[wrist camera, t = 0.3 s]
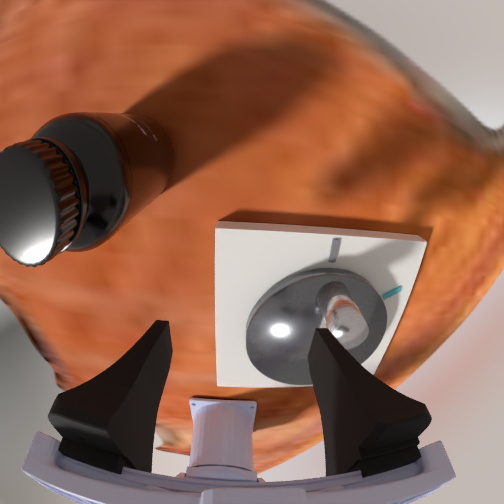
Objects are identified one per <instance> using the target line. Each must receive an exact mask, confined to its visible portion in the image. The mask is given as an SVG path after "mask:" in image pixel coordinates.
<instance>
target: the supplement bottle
mask: <svg viewBox="0 0 504 504" xmlns="http://www.w3.org/2000/svg"><path fill="white" fill-rule="evenodd" d="M172 169H173V150H172V146H171V143H170V140H169V138H168V136H167V134H166V133H165V131H164V130H163V129H162V128H161V127H160V126H159V125H158V124H157V123H156V122H154V121H153V120H151V119H149V118H147V117H144V116H140V115H134V114H121V113H88V112H80V113H68V114H64V115H60V116H57V117H55V118H53V119H51V120H50V121H48V122H47V123H45V124H44V125H43V126H42V127H41V128H40V129H39V130H38V131H37V132H36V133H35V134H34V135H33V137H32V138H31V139H29V140H27V141H24V142H20V143H16V144H14V145H11V146H8V147H6V148H5V149H4V150H3V151H1V152H0V247H1V248H2V249H3V250H4V251H5V253H6V254H7V255H9V256H10V257H11V258H12V259H13V260H14V261H17V262H18V263H19V264H21V265H22V264H24V265H25V266H27V267H29V266H33V267H36V266H38V265H43V264H45V263H46V262H47V261H50V260H51V259H53V258H54V257H55V256H56V255H57V254H59V253H62V252H63V251H69V252H83V251H88V250H91V249H94V248H96V247H98V246H100V245H102V244H103V243H104V242H106V241H107V240H108V239H110V238H111V237H112V236H113V235H114V234H115V233H116V232H118V231H119V230H120V229H121V228H122V227H123V226H124V225H125V224H126V223H128V222H129V221H130V220H131V219H132V218H133V217H134V216H136V215H137V214H138V213H139V212H140V211H141V210H143V209H144V208H145V207H146V206H147V205H148V204H150V203H151V202H152V201H153V200H154V199H155V198H156V197H158V196H159V194H160V193H161V192H162V191H163V190H164V188H165V187H166V185H167V183H168V182H169V179H170V177H171V174H172Z"/></svg>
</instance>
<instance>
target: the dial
mask: <svg viewBox="0 0 504 504" xmlns="http://www.w3.org/2000/svg"><path fill="white" fill-rule="evenodd" d="M386 326H387V310H386V307H385V304H384V302H383V300H382V298H381V297H380V295H379V294H378V292H377V291H376V289H375V288H374V287H373V286H372V284H371V283H370V282H369V281H367V280H366V279H365V278H364V277H362V276H360V275H359V274H356V273H354V272H351V271H348V270H344V269H337V268H319V269H312V270H308V271H304V272H300V273H298V274H295V275H292V276H290V277H288V278H286V279H284V280H282V281H280V282H279V283H277V284H276V285H274V286H273V287H271V288H270V289H269V290H268V291H267V292H265V293H264V294H263V296H262V297H261V298H260V299H259V300H258V301H257V302H256V304H255V305H254V307H253V308H252V310H251V312H250V314H249V317H248V320H247V324H246V350H247V354H248V357H249V359H250V361H251V363H252V364H253V366H254V367H255V368H256V369H257V370H258V371H259V372H261V373H262V374H263V375H265V376H266V377H268V378H270V379H272V380H275V381H278V382H281V383H285V384H291V385H312V384H313V383H312V380H311V376H310V371H309V364H308V353H309V350H310V347H311V343H312V340H313V336H314V333H315V329H316V328H328V329H329V330H330V332H331V333H332V334H333V335H334V336H335V337H336V339H337V340H338V341H339V342H340V343H341V344H342V345H343V347H344V348H345V349H346V350H347V351H348V352H349V353H350V354H351V355H352V356H353V357H354V358H355V359H356V360H357V361H358V362H359V363H360V364H362V363H364V362H365V361H366V360H367V359H368V358H369V357H370V356H371V355H372V354H373V352H374V351H375V350H376V349H377V347H378V346H379V344H380V342H381V340H382V339H383V336H384V334H385V331H386Z"/></svg>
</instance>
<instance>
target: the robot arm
mask: <svg viewBox="0 0 504 504" xmlns="http://www.w3.org/2000/svg"><path fill="white" fill-rule="evenodd" d="M172 352H173V350H172V343H171V335H170V327H169V321H162V320H156V321H155V322H154V323H153V324H152V326H151V327H150V328H149V329H148V330H147V331H146V333H145V334H144V335H143V336H142V337H141V338H140V339H139V340H138V341H137V342H136V343H135V345H134V346H133V347H132V348H131V349H130V350H128V351H127V352H126V353H125V354H124V355H123V356H122V357H121V358H120V359H119V360H118V361H116V362H115V363H114V364H113V365H111V366H110V367H109V368H108V369H106V370H105V371H103V372H102V373H100V374H99V375H97V376H96V377H94V378H92V379H91V380H89V381H87V382H85V383H83V384H81V385H79V386H77V387H75V388H73V389H70V390H68V391H65V392H63V393H60V394H58V396H57V397H56V399H55V401H54V403H53V405H52V408H51V410H50V412H49V414H48V418H49V421H50V422H51V424H52V425H53V426H54V428H55V429H56V430H57V431H58V432H59V433H60V435H61V436H62V437H63V438H62V441H61V442H59V441H58V440H57V439H55V438H53V437H50V436H48V435H46V434H44V433H42V432H39V431H36V433H35V436H34V438H33V440H32V443H31V445H30V448H29V450H28V453H27V455H26V458H25V460H24V463H23V466H22V471H23V472H24V473H26V474H27V475H28V476H30V477H31V478H33V479H34V480H35V481H37V482H38V483H40V484H41V485H43V486H44V487H46V488H47V489H49V490H51V491H53V492H55V493H57V494H59V495H61V496H64V497H66V498H68V499H70V500H72V501H75V502H77V503H79V504H408V503H411V502H413V501H415V500H418V499H420V498H422V497H425V496H427V495H429V494H431V493H432V492H434V491H435V490H437V489H439V488H440V487H442V486H443V485H445V484H446V483H448V482H449V481H451V480H452V479H454V478H455V477H456V475H455V472H454V470H453V467H452V465H451V462H450V460H449V458H448V455H447V453H446V451H445V448H444V446H443V444H442V442H441V441H437V442H435V443H432V444H429V445H427V446H425V447H422V448H421V449H418V447H417V445H418V444H419V439H418V436H419V435H420V434H421V433H422V432H423V431H424V430H425V429H426V428H427V427H428V426H429V424H430V422H431V420H432V419H431V415H430V413H429V411H428V409H427V407H426V405H425V404H423V403H421V402H419V401H416V400H414V399H411V398H409V397H407V396H405V395H403V394H401V393H399V392H397V391H396V390H394V389H392V388H391V387H389V386H388V385H386V384H385V383H383V382H382V381H380V380H379V379H378V378H376V377H375V376H374V375H373V374H371V373H370V372H369V371H368V370H366V369H365V368H364V367H363V366H362V365H361V364H360V363H359V362H358V361H357V360H356V359H355V358H354V357H353V356H352V355H351V354H350V353H349V352H348V351H347V350H346V349H345V348H344V347H343V345H342V344H341V343H340V342H339V341H338V340H337V339H336V337H335V336H334V335H333V334H332V333H331V332H330V330H329V329H328V328H316V329H315V333H314V336H313V340H312V343H311V347H310V350H309V353H308V364H309V371H310V376H311V380H312V383H313V387H314V391H315V394H316V398H317V402H318V405H319V409H320V414H321V420H322V427H323V435H324V444H325V459H326V477H320V478H312V479H304V480H294V481H281V482H265V481H264V480H263V479H262V478H257V472H256V471H253V443H252V433H253V427H254V420H255V414H256V408H257V402H256V401H240V400H217V399H203V398H190V400H189V403H190V408H191V413H192V418H193V423H194V427H193V436H192V445H191V454H190V464H189V467H187V471H186V473H180V474H179V475H177V476H176V477H171V476H165V475H159V474H153V473H151V471H152V453H153V442H154V433H155V425H156V419H157V412H158V407H159V403H160V400H161V396H162V393H163V389H164V386H165V383H166V379H167V376H168V372H169V369H170V364H171V358H172Z"/></svg>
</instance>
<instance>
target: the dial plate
mask: <svg viewBox="0 0 504 504" xmlns="http://www.w3.org/2000/svg"><path fill="white" fill-rule="evenodd" d="M426 245H427V242H426V241H425V240H424V239H423V238H421V237H420V236H419V235H412V234H402V233H391V232H380V231H369V230H357V229H344V228H331V227H317V226H302V225H286V224H269V223H251V222H230V221H217V224H216V228H215V331H216V369H217V386H225V387H304V386H313V384H312V385H291V384H285V383H281V382H278V381H275V380H272V379H270V378H268V377H266V376H265V375H263V374H262V373H261V372H259V371H258V370H257V369H256V368H255V367H254V366H253V364H252V363H251V361H250V359H249V357H248V354H247V350H246V324H247V320H248V317H249V314H250V312H251V310H252V308H253V307H254V305H255V304H256V302H257V301H258V300H259V299H260V298H261V297H262V296H263V294H264V293H265V292H267V291H268V290H269V289H270V288H271V287H273V286H274V285H276V284H277V283H279V282H280V281H282V280H284V279H286V278H288V277H290V276H292V275H295V274H298V273H300V272H304V271H308V270H312V269H319V268H337V269H344V270H348V271H351V272H354V273H356V274H359V275H360V276H362V277H364V278H365V279H366V280H367V281H369V282H370V283H371V284H372V286H373V287H374V288H375V289H376V291H377V292H378V294H379V295H380V297H381V298H382V300H383V302H384V304H385V307H386V310H387V326H386V331H385V334H384V336H383V339H382V340H381V342H380V344H379V346H378V347H377V349H376V350H375V351H374V352H373V354H372V355H371V356H370V357H369V358H368V359H367V360H366V361H365V362H364V363H362V364H361V365H362V366H363V367H364V368H365V369H366V370H368V371H369V372H370V373H371V374H373V375H374V373H375V371H376V369H377V367H378V365H379V363H380V361H381V359H382V357H383V355H384V353H385V351H386V349H387V347H388V345H389V343H390V341H391V339H392V336H393V334H394V332H395V330H396V327H397V325H398V323H399V320H400V318H401V316H402V313H403V311H404V308H405V306H406V303H407V301H408V298H409V295H410V293H411V290H412V287H413V285H414V282H415V279H416V276H417V273H418V270H419V267H420V264H421V261H422V258H423V255H424V251H425V248H426Z"/></svg>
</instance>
